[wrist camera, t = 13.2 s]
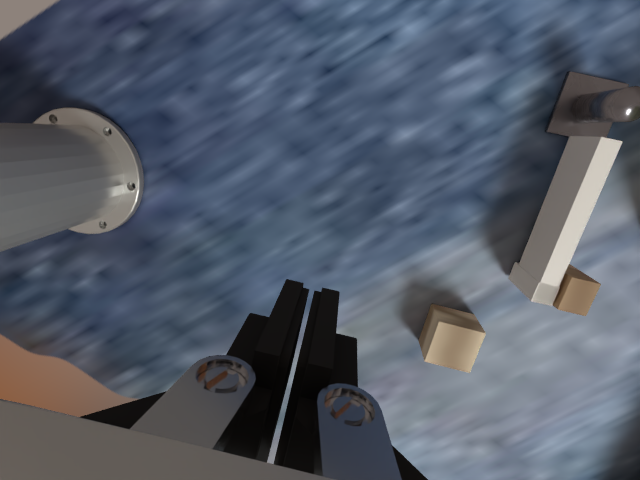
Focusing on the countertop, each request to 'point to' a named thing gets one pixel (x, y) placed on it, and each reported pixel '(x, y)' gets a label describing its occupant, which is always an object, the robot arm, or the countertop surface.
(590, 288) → the stile
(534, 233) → the white long bar
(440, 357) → the tan cube
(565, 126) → the knob on square plate
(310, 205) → the countertop surface
